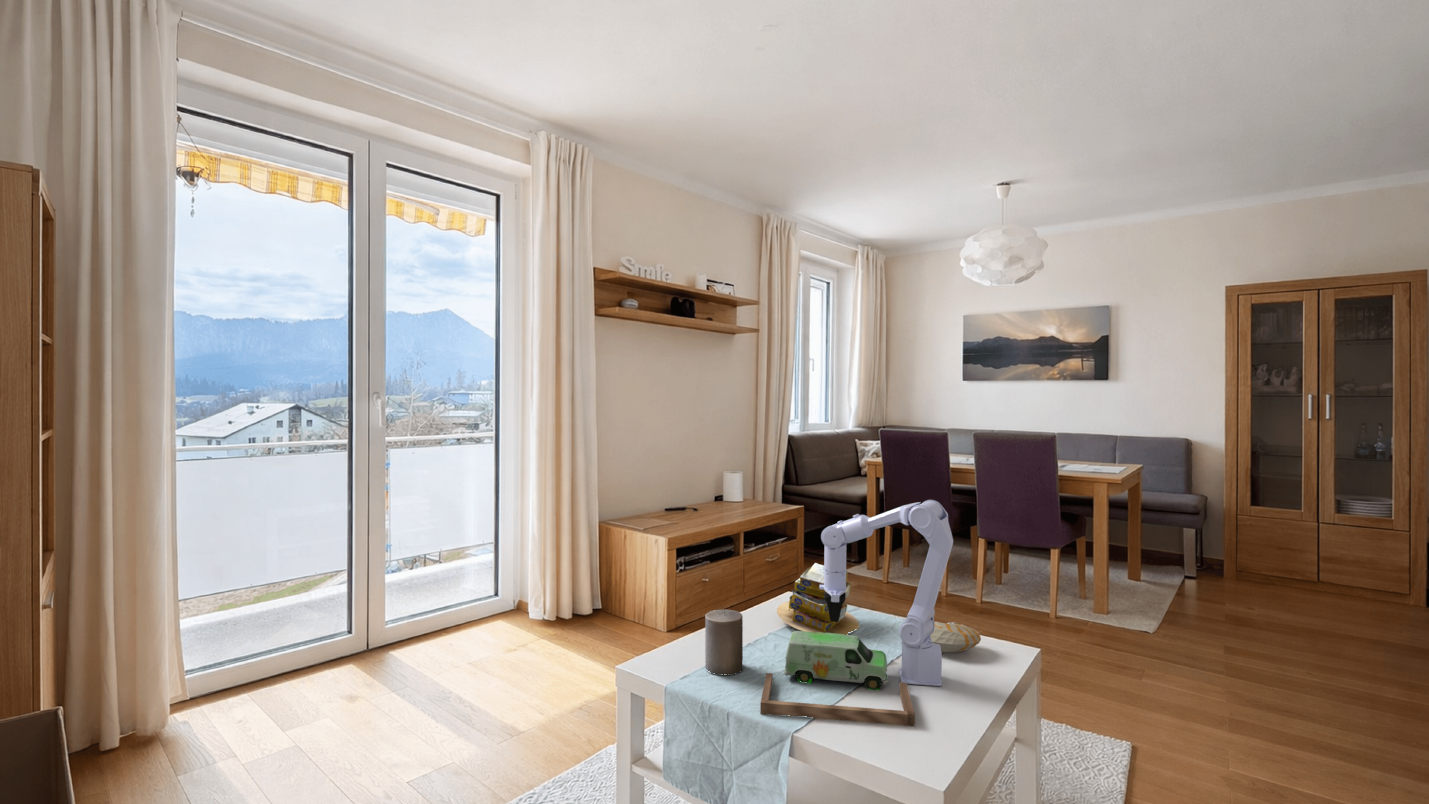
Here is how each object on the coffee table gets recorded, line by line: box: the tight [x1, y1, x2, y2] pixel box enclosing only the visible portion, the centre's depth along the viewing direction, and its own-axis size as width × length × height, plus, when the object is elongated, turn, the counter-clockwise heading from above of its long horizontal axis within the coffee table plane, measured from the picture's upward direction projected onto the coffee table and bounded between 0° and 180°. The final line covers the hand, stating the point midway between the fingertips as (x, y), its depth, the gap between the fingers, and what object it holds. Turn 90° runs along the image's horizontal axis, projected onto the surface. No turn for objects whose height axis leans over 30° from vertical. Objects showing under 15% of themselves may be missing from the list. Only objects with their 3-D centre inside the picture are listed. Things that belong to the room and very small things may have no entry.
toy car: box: [784, 630, 888, 691], centre depth 174 cm, size 11×25×10 cm, turn 78°
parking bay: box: [759, 672, 916, 727], centre depth 160 cm, size 33×16×2 cm, turn 81°
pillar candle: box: [704, 609, 744, 676], centre depth 179 cm, size 10×10×15 cm
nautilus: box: [930, 621, 982, 654], centre depth 194 cm, size 8×22×15 cm
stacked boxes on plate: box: [776, 562, 860, 635], centre depth 212 cm, size 25×25×17 cm
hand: (834, 620), depth 185 cm, fingers closed
